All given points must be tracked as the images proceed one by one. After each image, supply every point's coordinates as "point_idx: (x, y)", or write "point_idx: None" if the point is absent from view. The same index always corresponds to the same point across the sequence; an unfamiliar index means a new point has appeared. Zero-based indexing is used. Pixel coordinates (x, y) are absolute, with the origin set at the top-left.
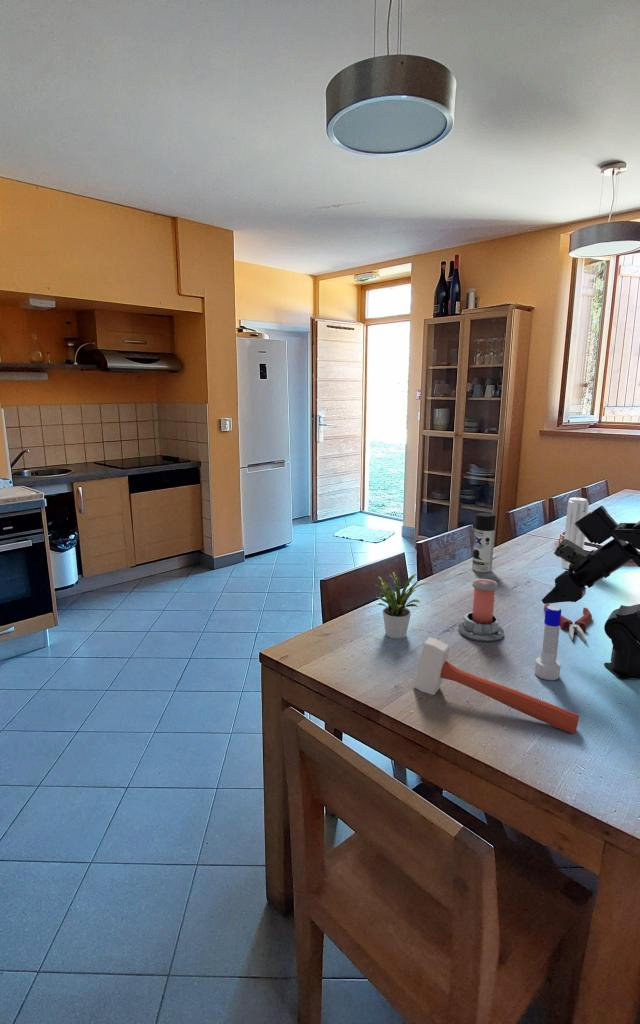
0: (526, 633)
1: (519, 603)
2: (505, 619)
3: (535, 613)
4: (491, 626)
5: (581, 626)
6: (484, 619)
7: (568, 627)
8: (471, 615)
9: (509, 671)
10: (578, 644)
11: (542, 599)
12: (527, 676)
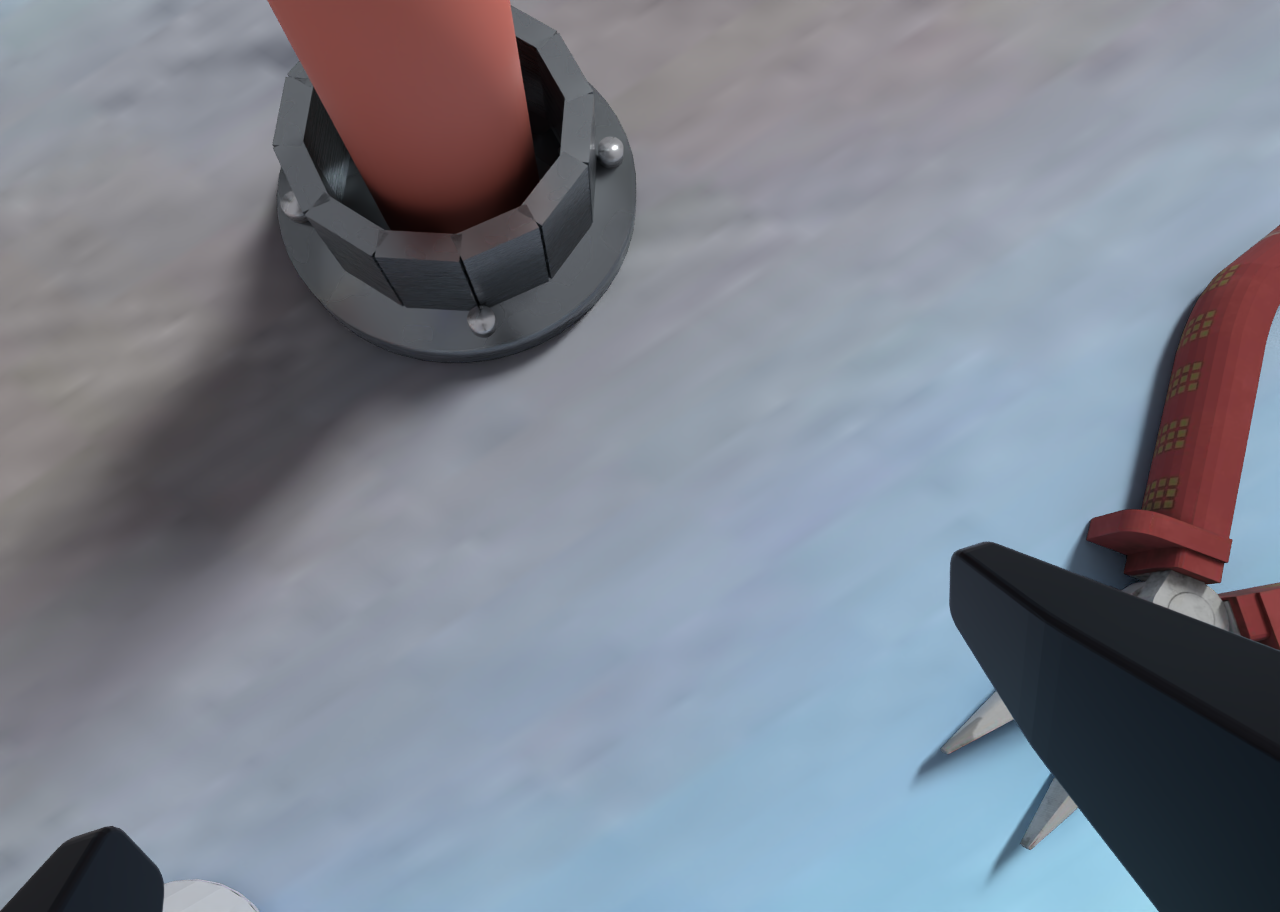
0: (754, 412)
1: (1194, 56)
2: (834, 169)
3: (1151, 232)
4: (375, 263)
5: None
6: (364, 168)
7: (1142, 573)
8: None
9: (17, 745)
10: (954, 800)
11: (34, 877)
12: None
